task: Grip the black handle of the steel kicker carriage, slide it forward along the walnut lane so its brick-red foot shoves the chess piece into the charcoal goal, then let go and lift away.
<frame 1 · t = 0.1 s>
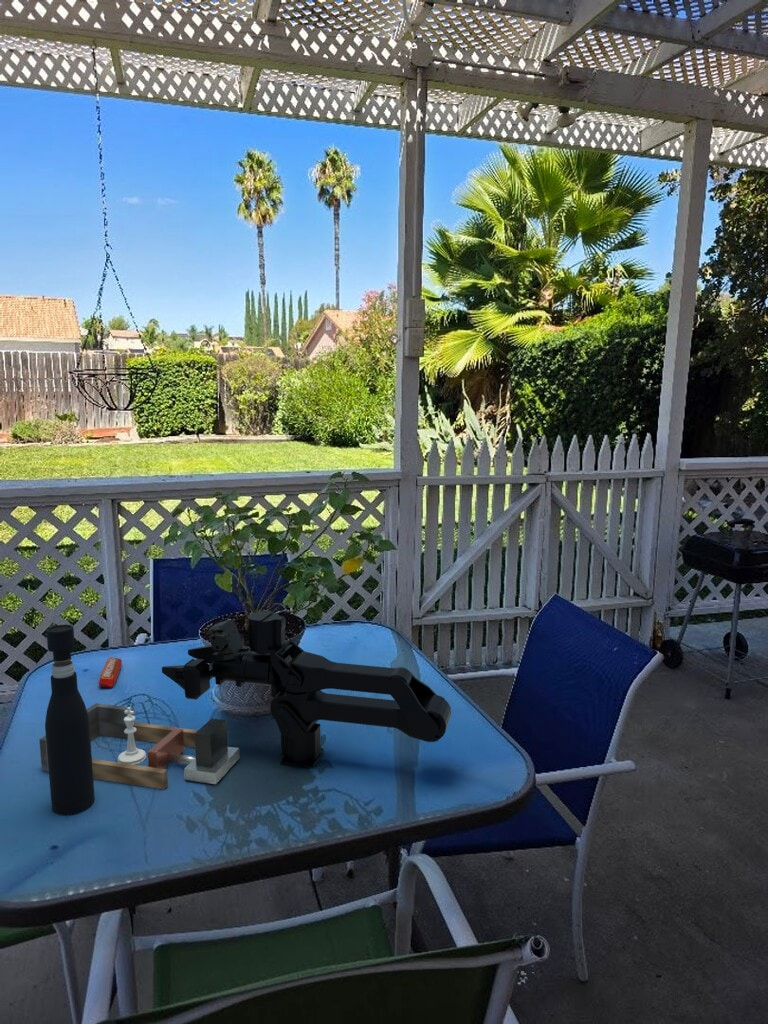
hand: (175, 660, 129), 17 cm above the table, tool horizontal, fingers open, 9 cm apart
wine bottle: (73, 805, 111), on the table
chess piece: (132, 759, 125), resting in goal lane
candy bar: (111, 678, 164), on the table
kicker carriage: (194, 745, 122), point 4 cm above the table, slide at 0.0 cm
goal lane: (125, 757, 126), on the table
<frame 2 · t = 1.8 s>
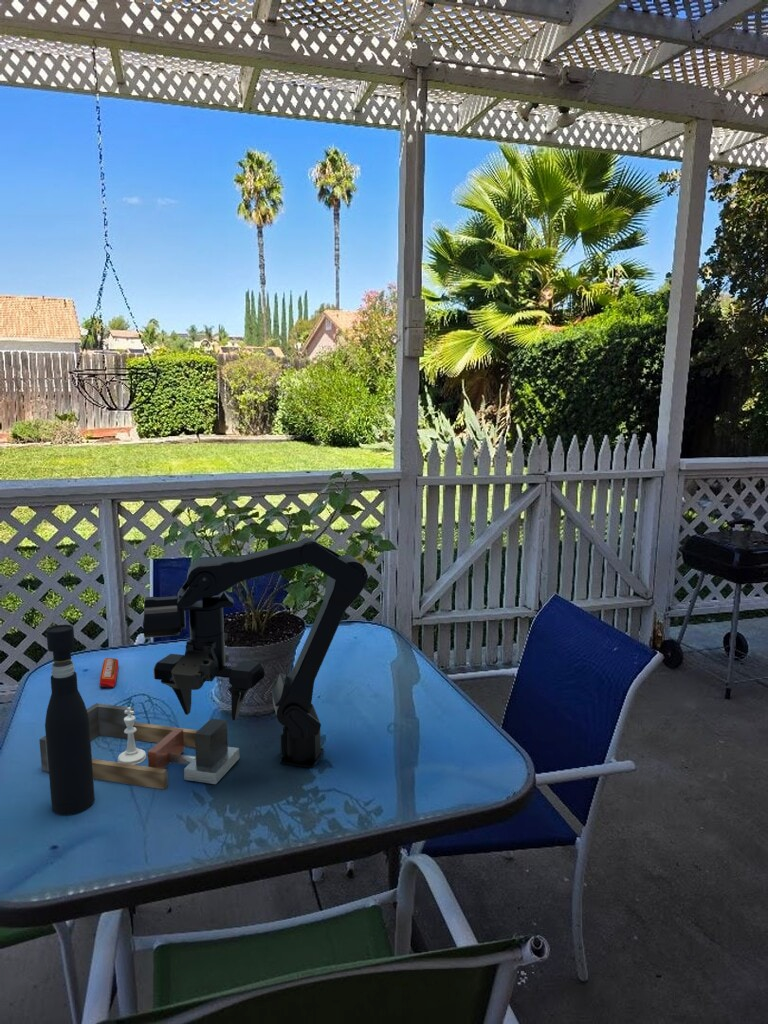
hand: (211, 716, 120), 10 cm above the table, tool pointing down, fingers open, 9 cm apart
nothing on the table moved.
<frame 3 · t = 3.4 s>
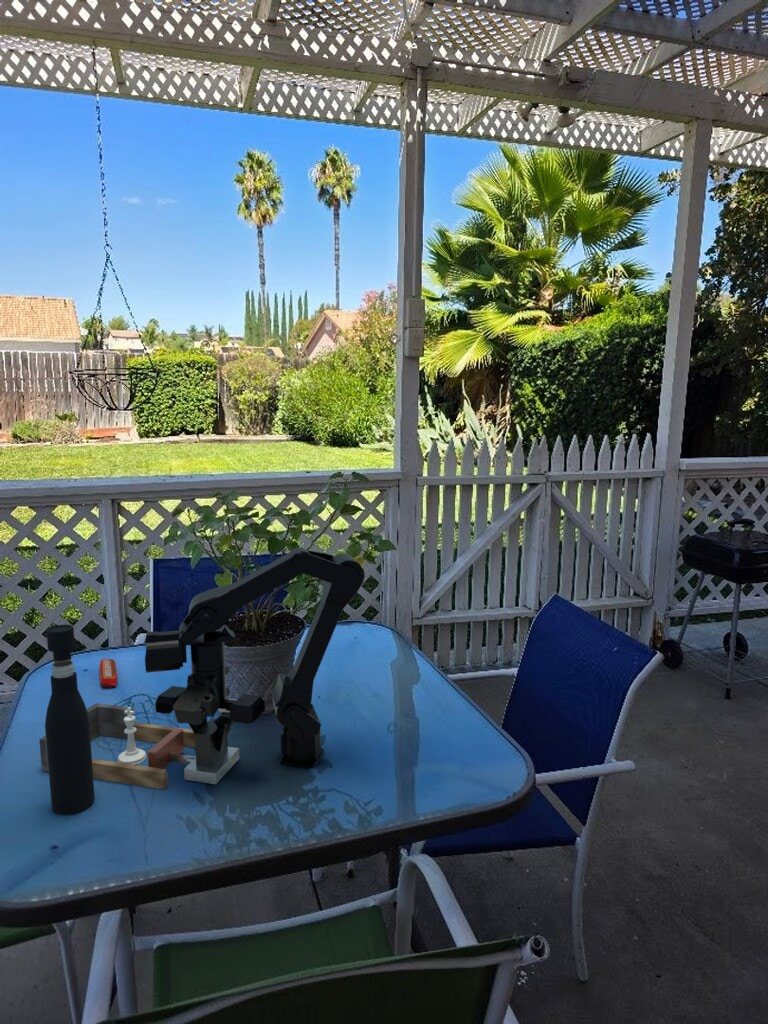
hand: (212, 749, 121), 4 cm above the table, tool pointing down, fingers closed on kicker carriage, 3 cm apart
kicker carriage: (194, 745, 122), point 4 cm above the table, slide at 0.0 cm, touching gripper
everything else where it was.
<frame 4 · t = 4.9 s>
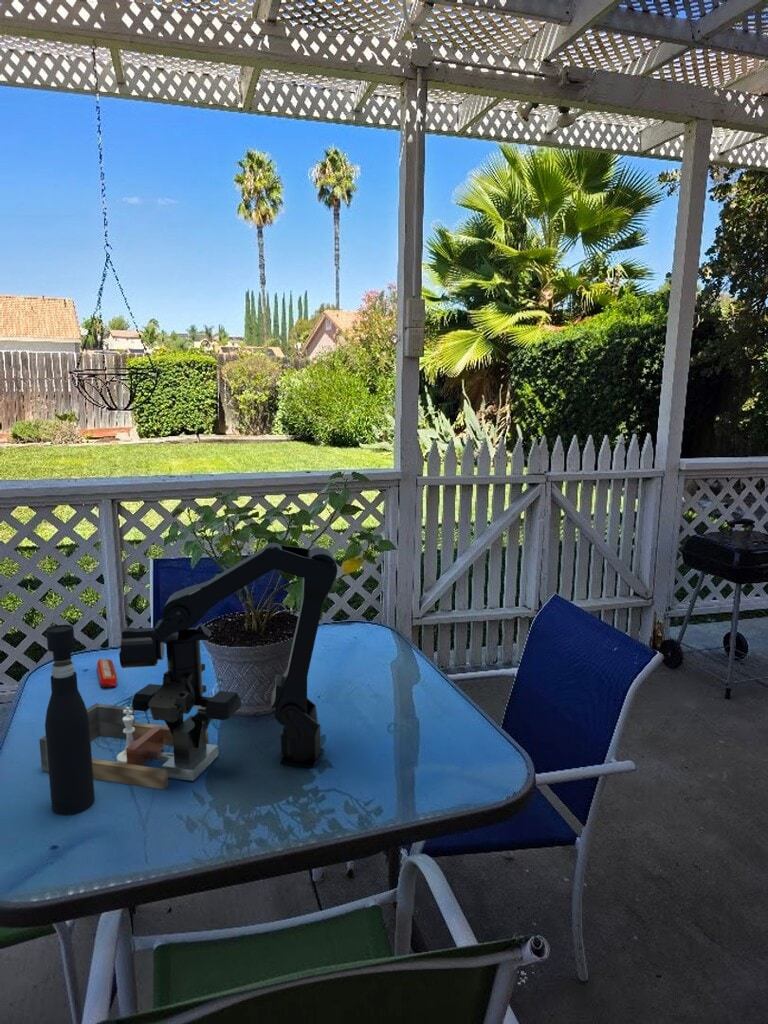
hand: (189, 746, 122), 4 cm above the table, tool pointing down, fingers open, 3 cm apart
chess piece: (130, 759, 126), resting in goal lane, touching kicker carriage
kicker carriage: (172, 742, 123), point 4 cm above the table, slide at 4.3 cm, touching chess piece, gripper
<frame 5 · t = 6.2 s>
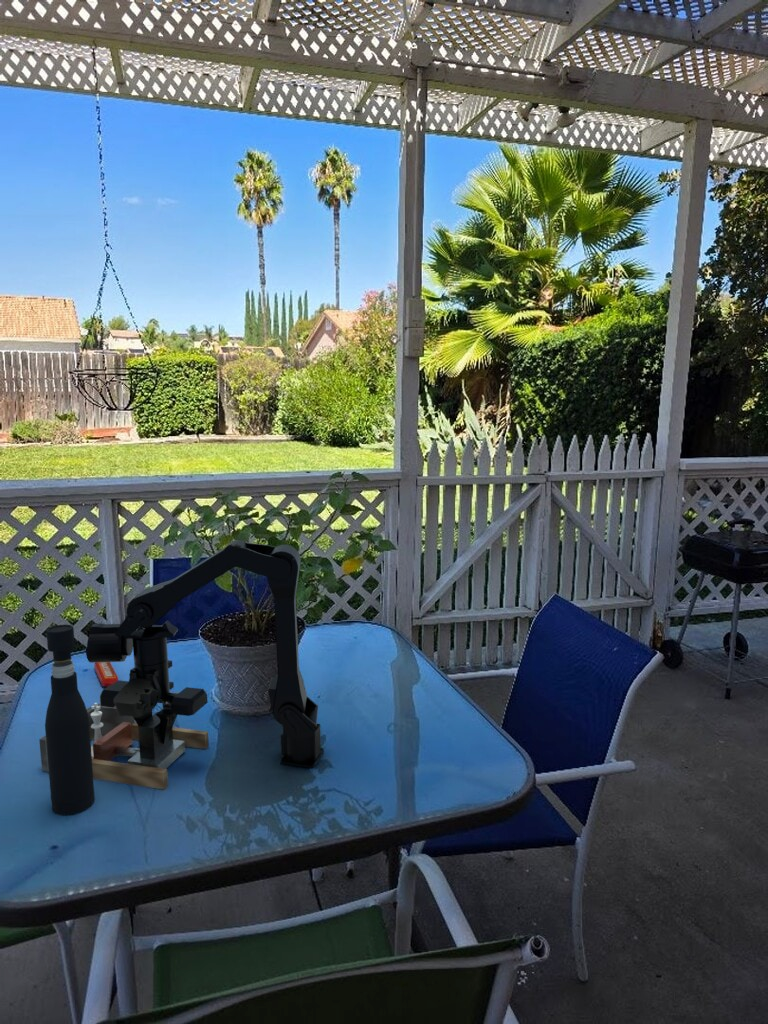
hand: (156, 741, 124), 4 cm above the table, tool pointing down, fingers closed on kicker carriage, 3 cm apart
chess piece: (99, 754, 127), resting in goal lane, touching kicker carriage
kicker carriage: (139, 738, 124), point 4 cm above the table, slide at 11.2 cm, touching chess piece, gripper
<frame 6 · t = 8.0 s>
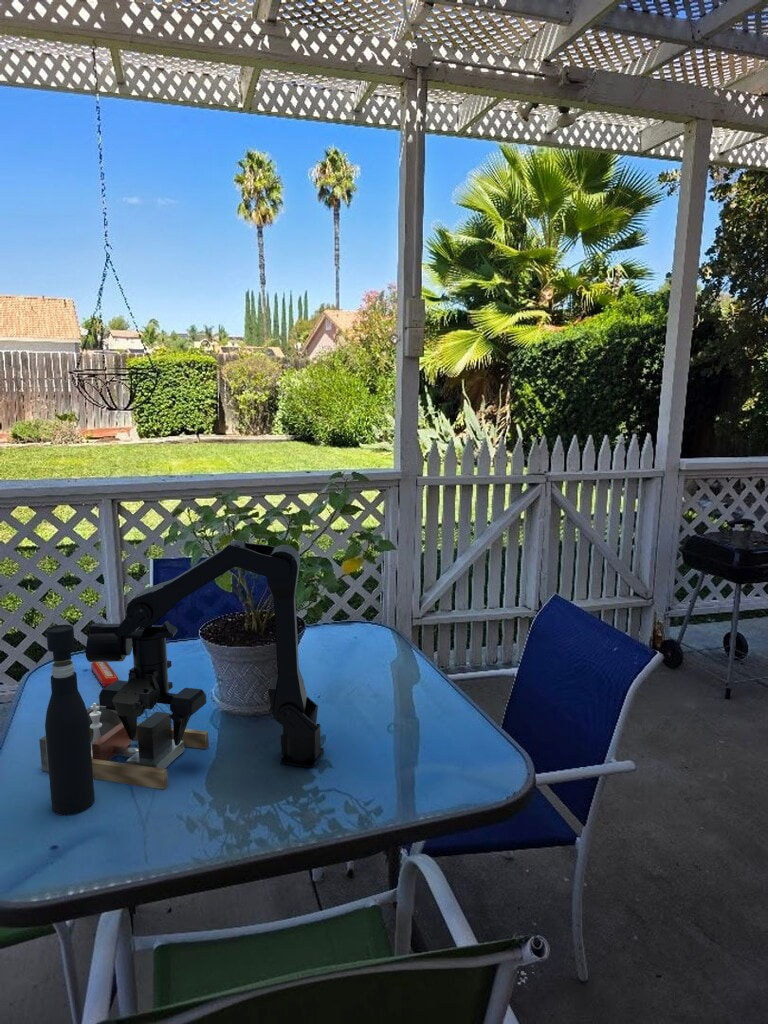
hand: (155, 741, 124), 4 cm above the table, tool pointing down, fingers open, 9 cm apart
chess piece: (98, 754, 127), resting in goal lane
kicker carriage: (138, 737, 124), point 4 cm above the table, slide at 11.4 cm
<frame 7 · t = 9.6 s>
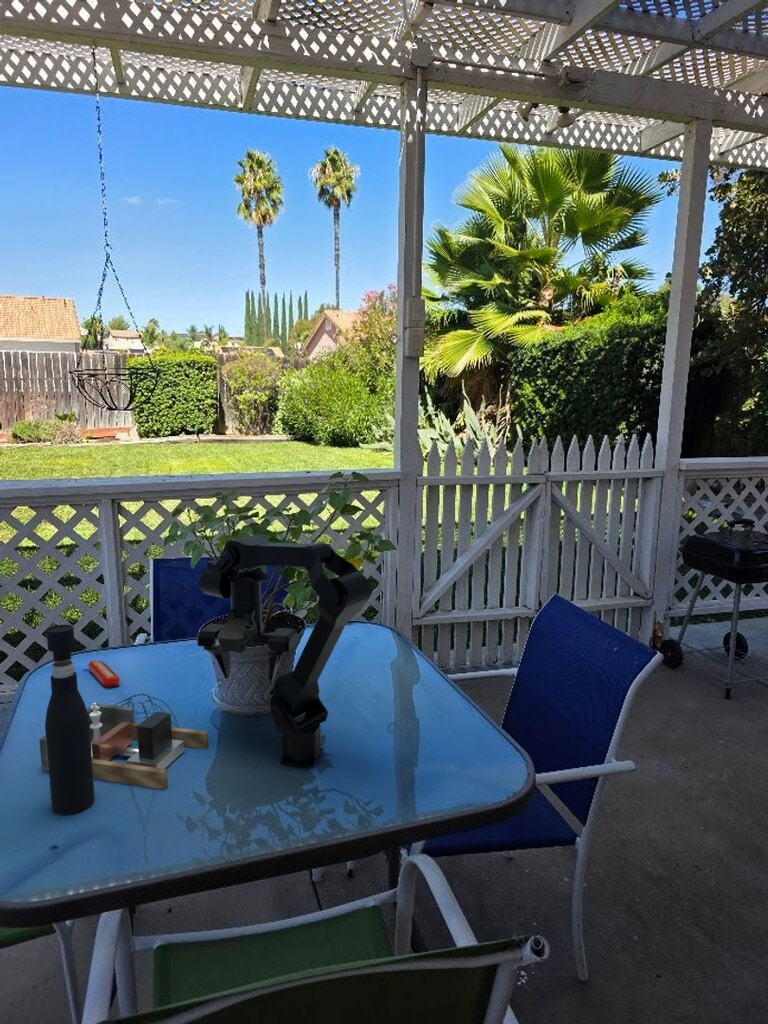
hand: (249, 679, 132), 12 cm above the table, tool pointing down, fingers open, 9 cm apart
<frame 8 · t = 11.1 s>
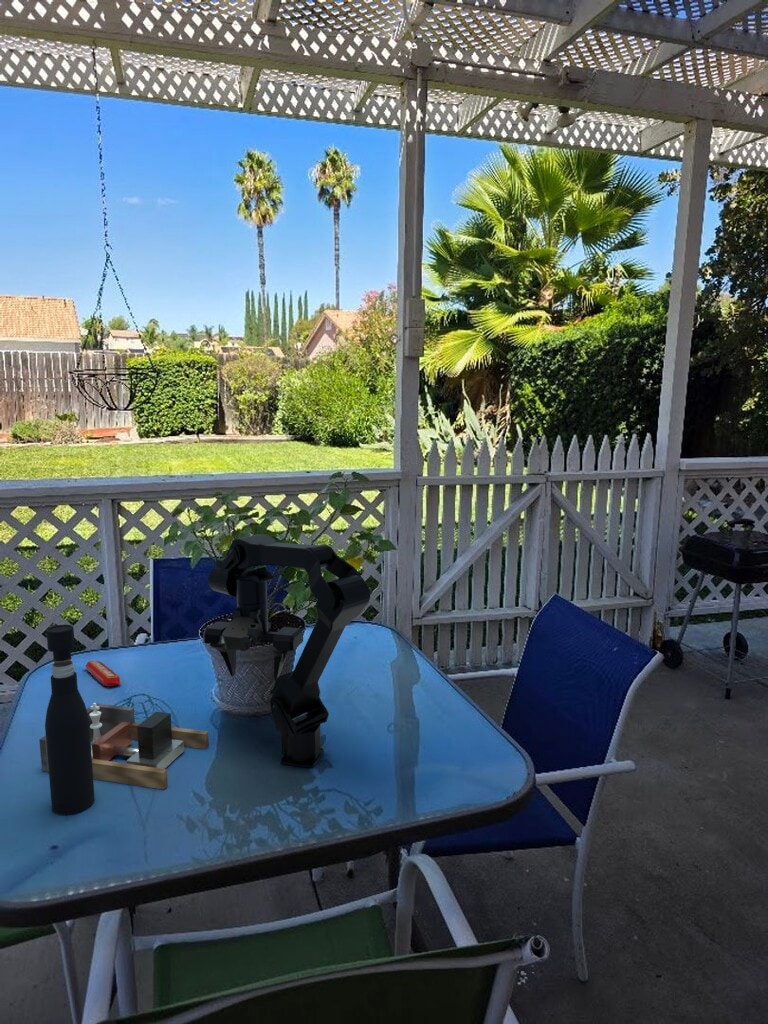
hand: (254, 677, 133), 12 cm above the table, tool pointing down, fingers open, 9 cm apart
at the end: chess piece inside the target area (1.1 cm from its centre), resting in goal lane; chess piece tilted 0°; kicker carriage slide at 11.4 cm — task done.
